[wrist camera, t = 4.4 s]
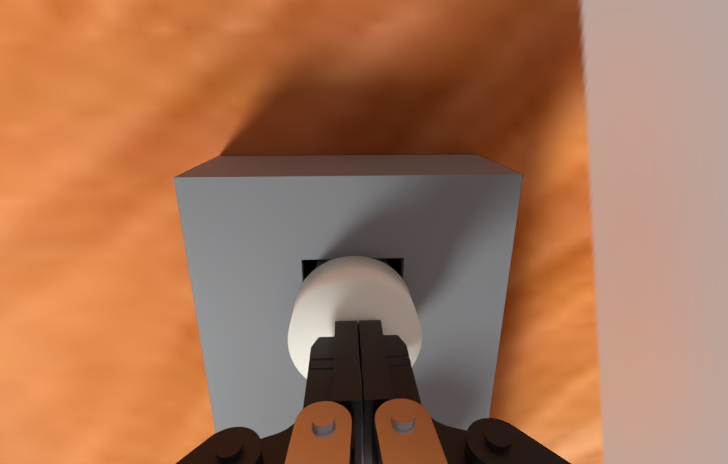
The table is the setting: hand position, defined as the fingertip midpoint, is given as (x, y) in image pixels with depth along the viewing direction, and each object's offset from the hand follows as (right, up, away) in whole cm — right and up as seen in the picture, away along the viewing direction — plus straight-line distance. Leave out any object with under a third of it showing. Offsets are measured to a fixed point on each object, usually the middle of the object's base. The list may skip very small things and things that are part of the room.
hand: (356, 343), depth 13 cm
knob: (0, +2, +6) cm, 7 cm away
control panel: (0, -6, +10) cm, 12 cm away
